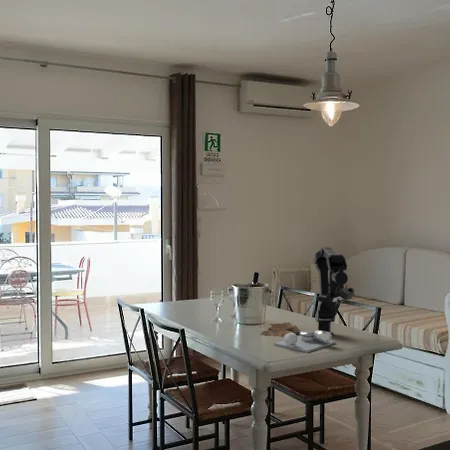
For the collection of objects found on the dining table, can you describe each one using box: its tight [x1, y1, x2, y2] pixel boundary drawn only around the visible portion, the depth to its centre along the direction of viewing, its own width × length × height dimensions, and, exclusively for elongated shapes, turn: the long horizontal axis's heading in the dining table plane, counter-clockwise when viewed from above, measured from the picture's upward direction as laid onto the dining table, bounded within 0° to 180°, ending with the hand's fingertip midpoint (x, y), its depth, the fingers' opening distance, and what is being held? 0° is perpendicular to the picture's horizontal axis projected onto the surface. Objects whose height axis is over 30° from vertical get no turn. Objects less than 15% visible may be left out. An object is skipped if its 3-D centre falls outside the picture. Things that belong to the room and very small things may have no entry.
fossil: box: [260, 322, 301, 338], centre depth 276 cm, size 20×16×5 cm
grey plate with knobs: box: [273, 332, 337, 354], centre depth 253 cm, size 23×18×6 cm
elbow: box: [299, 329, 332, 343], centre depth 254 cm, size 15×8×5 cm, turn 47°
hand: (334, 315), depth 255 cm, fingers closed
